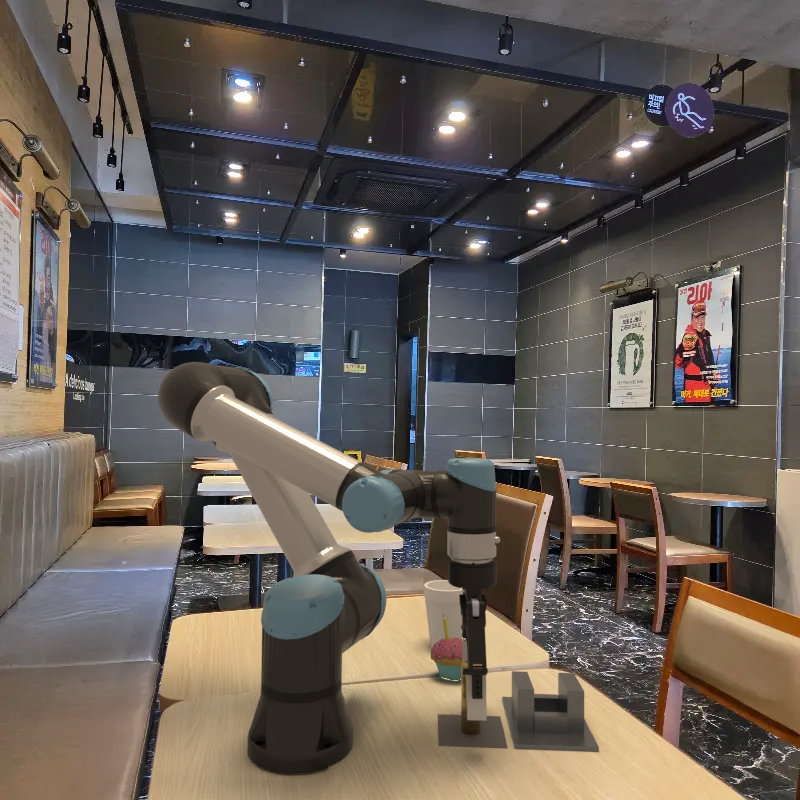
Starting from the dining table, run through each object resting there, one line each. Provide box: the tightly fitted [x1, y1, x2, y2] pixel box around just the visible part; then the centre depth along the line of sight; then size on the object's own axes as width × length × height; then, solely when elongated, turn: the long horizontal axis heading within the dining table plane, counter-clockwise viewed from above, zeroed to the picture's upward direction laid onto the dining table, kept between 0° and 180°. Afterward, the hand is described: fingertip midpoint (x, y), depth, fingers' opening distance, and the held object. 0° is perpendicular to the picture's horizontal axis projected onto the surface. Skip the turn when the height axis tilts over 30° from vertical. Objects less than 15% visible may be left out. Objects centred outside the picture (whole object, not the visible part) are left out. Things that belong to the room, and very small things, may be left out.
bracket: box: [501, 670, 600, 753], centre depth 99 cm, size 12×16×7 cm
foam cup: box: [423, 579, 463, 648], centre depth 134 cm, size 10×9×13 cm
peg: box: [460, 660, 482, 735], centre depth 97 cm, size 3×3×10 cm
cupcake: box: [430, 614, 466, 680], centre depth 118 cm, size 9×8×12 cm
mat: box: [437, 713, 509, 749], centre depth 96 cm, size 10×10×1 cm
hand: (473, 699), depth 96 cm, fingers open, 13 cm apart
